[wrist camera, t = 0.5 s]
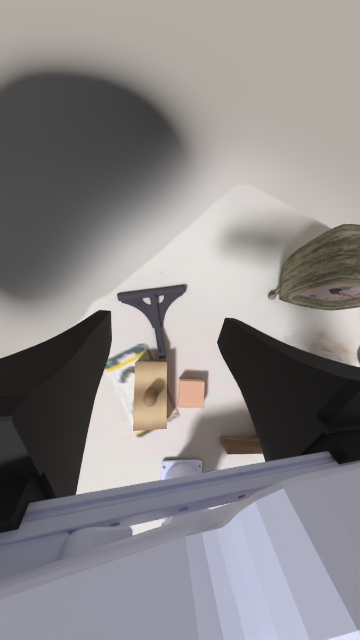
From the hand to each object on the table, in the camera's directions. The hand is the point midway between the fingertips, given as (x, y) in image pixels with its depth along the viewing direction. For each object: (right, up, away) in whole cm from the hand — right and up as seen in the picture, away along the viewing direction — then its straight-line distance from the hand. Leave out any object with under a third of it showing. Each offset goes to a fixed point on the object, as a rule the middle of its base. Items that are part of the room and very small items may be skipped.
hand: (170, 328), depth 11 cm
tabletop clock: (+28, +8, +31) cm, 42 cm away
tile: (+3, -14, +25) cm, 29 cm away
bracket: (-5, 0, +27) cm, 27 cm away
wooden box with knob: (-5, -14, +24) cm, 29 cm away
